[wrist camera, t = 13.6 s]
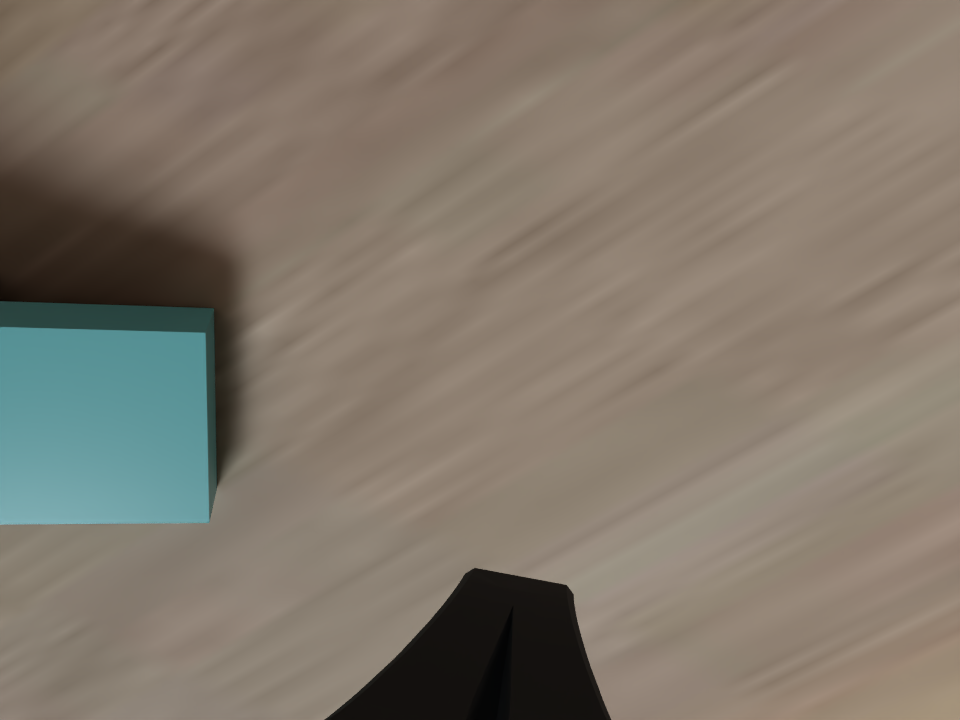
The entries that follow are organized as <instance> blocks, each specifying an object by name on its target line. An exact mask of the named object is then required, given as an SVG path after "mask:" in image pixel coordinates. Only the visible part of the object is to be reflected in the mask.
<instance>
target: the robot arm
mask: <svg viewBox="0 0 960 720" xmlns="http://www.w3.org/2000/svg"><path fill="white" fill-rule="evenodd" d="M325 720H611V718H610V716H609V714H608V711H607V709H606V706H605V704H604V701H603V699H602V696H601V693H600V691H599V688H598V685H597V683H596V680H595V677H594V675H593V672H592V669H591V667H590V664H589V661H588V658H587V654H586V651H585V648H584V644H583V641H582V637H581V634H580V630H579V626H578V622H577V617H576V612H575V606H574V594H573V593H572V592H571V590H570V589H569V588H568V586H567V585H563V584H558V583H553V582H547V581H542V580H537V579H531V578H526V577H520V576H515V575H510V574H504V573H499V572H493V571H488V570H483V569H477V568H474V569H472V570H471V571H469V572H467V573H466V574H465V575H464V576H463V578H462V580H461V581H460V583H459V584H458V586H457V587H456V588H455V590H454V591H453V593H452V594H451V595H450V597H449V598H448V599H447V600H446V602H445V603H444V604H443V606H442V607H441V608H440V609H439V610H438V611H437V613H436V614H435V615H434V616H433V617H432V619H431V620H430V621H429V622H428V623H427V624H426V625H425V627H424V628H423V629H422V630H421V631H420V632H419V633H418V634H417V635H416V636H415V637H414V638H413V639H412V641H411V642H410V643H409V644H408V645H407V646H406V647H405V648H404V649H403V650H402V651H401V652H400V653H399V654H398V655H397V656H396V657H395V658H394V659H393V660H392V661H391V662H390V663H389V664H388V665H387V666H386V667H385V668H384V669H383V670H382V671H380V672H379V673H378V674H377V675H376V676H375V677H374V678H373V679H372V680H371V681H370V682H369V683H368V684H366V685H365V686H364V687H363V688H362V689H361V690H360V691H359V692H358V693H357V694H355V695H354V696H353V697H352V698H351V699H350V700H348V701H347V702H346V703H345V704H344V705H342V706H341V707H340V708H339V709H338V710H336V711H335V712H334V713H333V714H331V715H330V716H329V717H328V718H326V719H325Z"/></svg>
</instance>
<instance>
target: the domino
mask: <svg viewBox="0 0 960 720" xmlns="http://www.w3.org/2000/svg"><path fill="white" fill-rule="evenodd" d="M216 489H217V462H216V400H215V339H214V308H190V307H160V306H130V305H99V304H69V303H39V302H8V301H0V524H120V523H209V522H210V517H211V513H212V508H213V503H214V499H215V494H216Z"/></svg>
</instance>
